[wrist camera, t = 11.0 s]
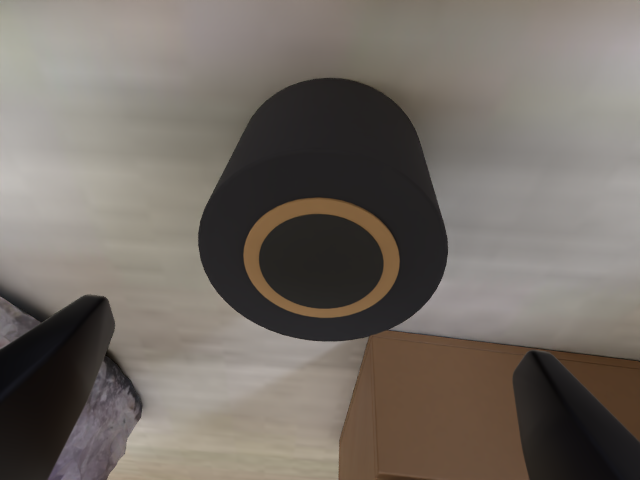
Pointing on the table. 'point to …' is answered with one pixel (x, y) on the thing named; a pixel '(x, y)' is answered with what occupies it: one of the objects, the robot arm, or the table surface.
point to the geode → (87, 412)
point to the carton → (456, 408)
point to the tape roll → (325, 216)
